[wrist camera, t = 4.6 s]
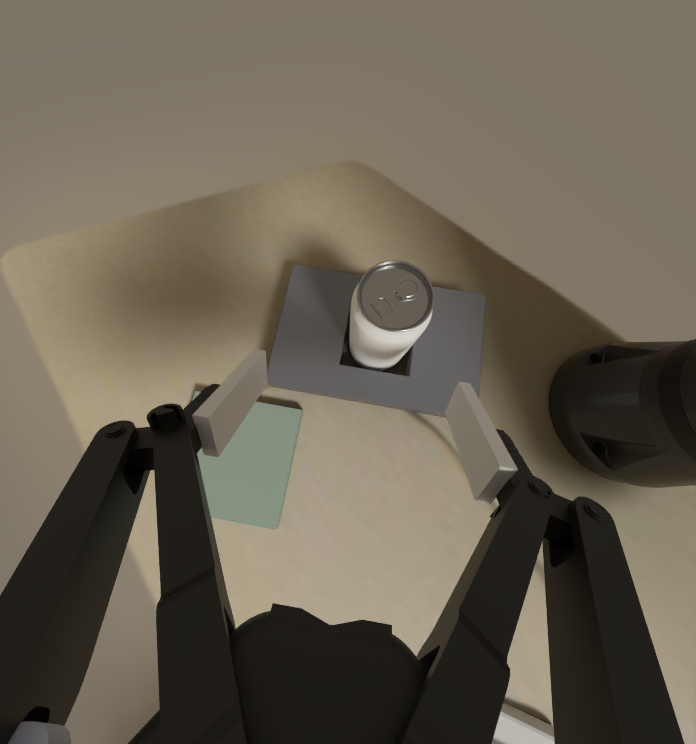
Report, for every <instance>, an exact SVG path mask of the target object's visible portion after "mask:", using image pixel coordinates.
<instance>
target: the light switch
mask: <svg viewBox="0 0 696 744" xmlns="http://www.w3.org/2000/svg"><path fill="white" fill-rule="evenodd" d="M492 744H555V742H554V727H553V726H552V725H550V724H547V723H545V722H543V721H541V720H539V719H537V718H535V717H533V716H531V715H529V714H527V713H525V712H523V711H521V710H519V709H516V708H514V707H512V706H509V705H507V704H505V703H503V705H502V708H501V712H500V716H499V719H498V723H497V726H496V730H495V733H494V737H493V741H492Z"/></svg>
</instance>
